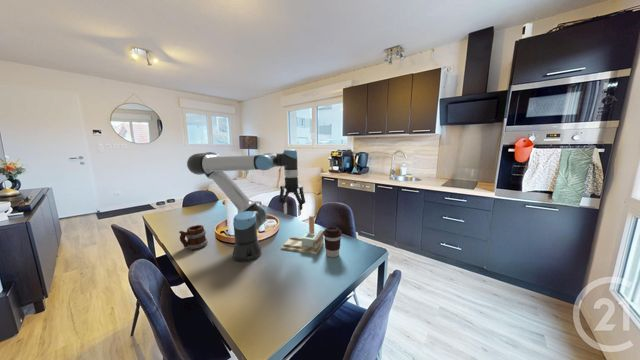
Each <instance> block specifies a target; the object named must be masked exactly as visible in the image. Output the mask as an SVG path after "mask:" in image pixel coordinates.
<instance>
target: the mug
mask: <svg viewBox="0 0 640 360" xmlns="http://www.w3.org/2000/svg"><path fill="white" fill-rule="evenodd" d="M204 227H205V226H204V225H201V224H197V225H192V226H189V227H188V228H187V229H186V231H184V230H180V231H178V233H179V234H180V235H179V240H180V243H181V244H182V245H183V247H184V248H187V250H189V251H197V250H201V249H203V248H206V247H207V246H208V243H209V241H208V239H207V238H206V233H207V231H206V229H205V228H204Z"/></svg>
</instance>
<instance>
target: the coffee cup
mask: <svg viewBox="0 0 640 360" xmlns="http://www.w3.org/2000/svg"><path fill="white" fill-rule="evenodd" d="M342 233H343V232H342V230H341V229H340V228H338V227H337V226H328V227H326V228H325V229H324V230H323V234H324V248H325V255H326V256H327V257H329V258H337V257H338V256H339V255H340V249H341V239H342V238H341V237H342V235H343V234H342Z"/></svg>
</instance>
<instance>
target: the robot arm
mask: <svg viewBox="0 0 640 360" xmlns="http://www.w3.org/2000/svg"><path fill="white" fill-rule="evenodd" d="M186 167H187V169H188V170H189V172H191V173H192V174H194V175H198V176H199V175H200V176H201V175H205V176H206V178H207V179H208V180H212V181H213V182H214V183H215V184H216V185H217V186H218V188H219V189H220V190H221V191H222V192H223V194H224V195H225V196H226V197H227V198H228V200H230V203H231V204H233V206H234V207H235V208H236V209H237V210H238V213H236V214H235V215H234V217H233V219H232V220H233V222H232V225H233V233H234V234H233V235H234V247H233V251H232V259H233V260H234V261H236V262H241V263H243V262H246V263H247V262H250V261H254V260H256V259H258V258H259V257H260V256H261V255H262V248H261V246H260V245H261V244H260V242H259V240H258V230H259V228H260V227H261V226H262V225H264V224H265V222H266V220H267V211H266V209H265V208H264V207H262V206H260V205H258V204H257V203H256V202H255V201H251V200H250V199H249V197H248V196H247V195H246V194H245V193H244V191H243V190H242V189H241V188H240V187H239V186H238V184H237V183H236V182H235V180H234V179H233V178H232V177H231V176H230V175H229V174H228V172H232V171H235V172H236V171H254V170H255V171H256V170H257V171H258V170H260V171H268V170H270V169H272V168H275V167H277V168H279V167H283V168H284V185H281V186H279V187H280V188H279V189H280V192H279V199H278V202H279V203H281V205H282V206H281V207H282V209H283V215H287V214H288V203H287V199H288V197H289V194H290V193H291V194H293V195H294V196H295V198H296V200H297V203H298V204H297V214H298V215H297V216H301V215H302V210H303V205H305V204H306V198H305V193H304V186H299V178H298V175H299V173H298V169H299V168H298V151H297V150H296V149H284V150H283V152H282V153H279V152H278V153H276V152H275V153H274V152H271V153H270V152H268V153H263V154H255V155H231V156H229V155H227V156H222V155H220V154H218V153H216V152H211V151H209V152H201V153H194V154H192V155H190V156H189V158H188V159H187V161H186Z"/></svg>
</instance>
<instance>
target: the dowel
mask: <svg viewBox="0 0 640 360" xmlns="http://www.w3.org/2000/svg"><path fill="white" fill-rule="evenodd" d="M308 226H309V227H308V230H309V231H308V233H314V234H315V216H314V215H309V216H308Z"/></svg>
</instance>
